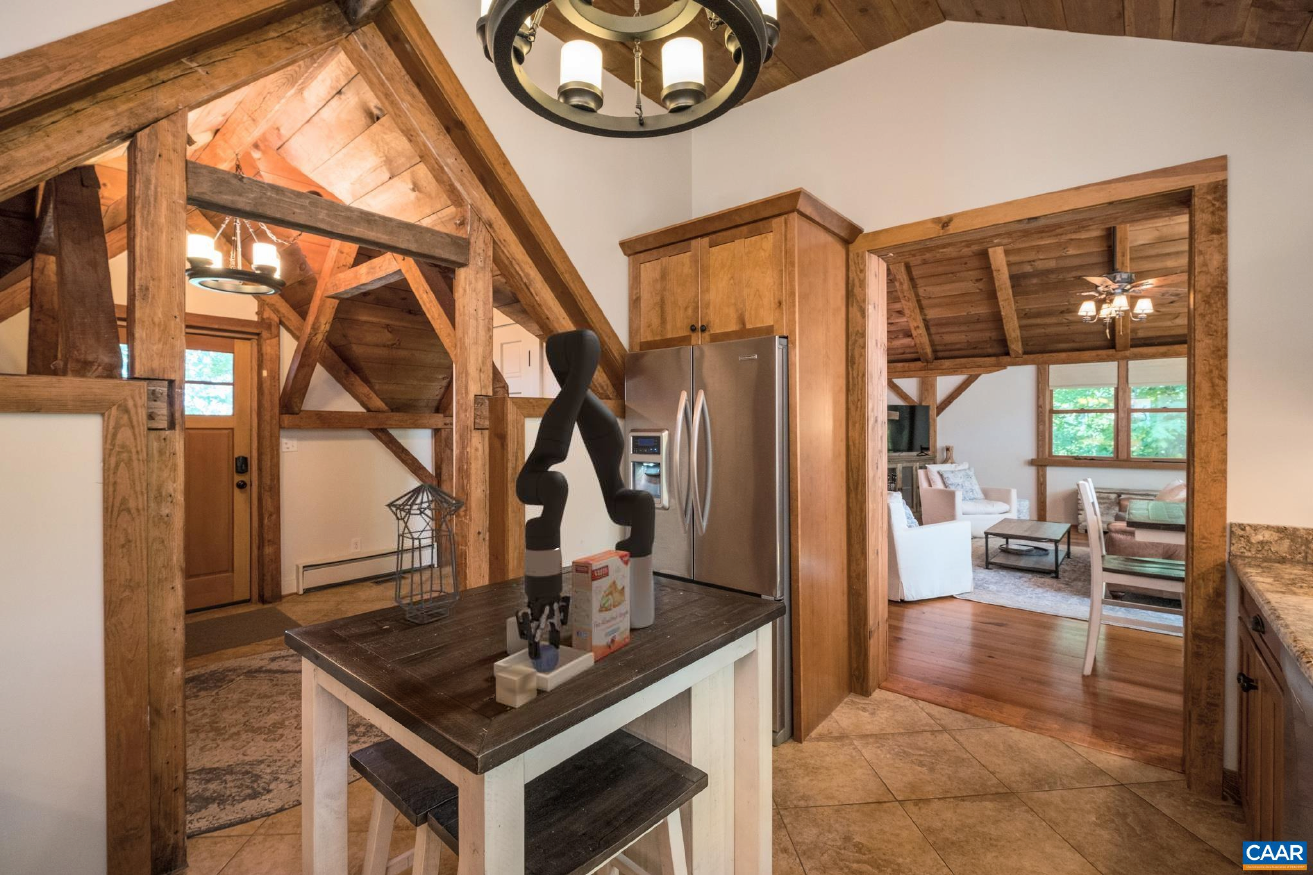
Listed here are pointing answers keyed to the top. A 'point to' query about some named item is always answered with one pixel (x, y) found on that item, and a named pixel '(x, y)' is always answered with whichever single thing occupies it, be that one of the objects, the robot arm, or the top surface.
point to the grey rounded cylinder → (514, 637)
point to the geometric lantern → (433, 491)
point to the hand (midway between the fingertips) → (544, 653)
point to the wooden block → (516, 685)
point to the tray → (566, 668)
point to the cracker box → (601, 602)
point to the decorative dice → (546, 659)
